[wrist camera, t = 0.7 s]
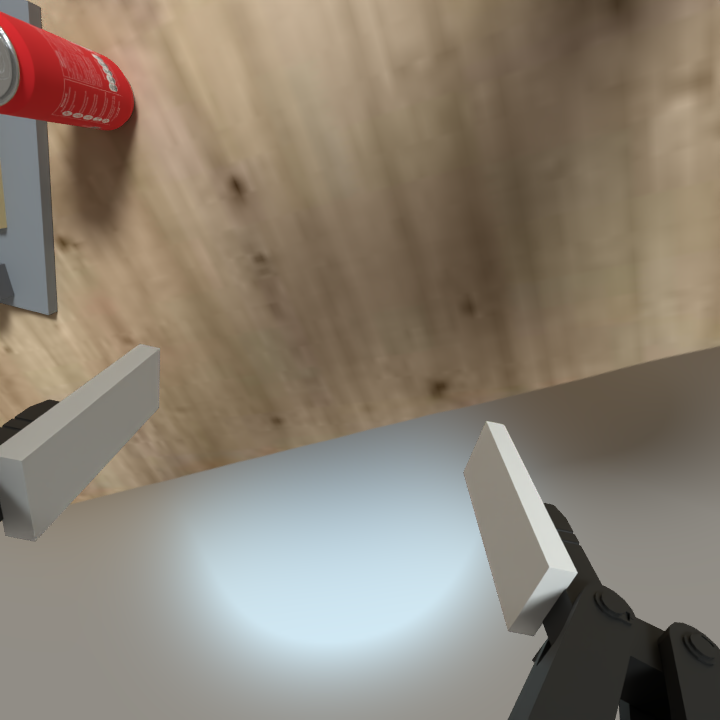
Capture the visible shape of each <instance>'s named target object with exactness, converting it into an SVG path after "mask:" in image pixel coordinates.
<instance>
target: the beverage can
mask: <svg viewBox="0 0 720 720" xmlns="http://www.w3.org/2000/svg"><path fill="white" fill-rule="evenodd" d="M133 110H134V94H133V91H132V88H131V85H130V83H129V82H128V80H127V78H126V77H125V76H124V74H123V73H122V71H121V70H120V69H119V68H118V66H117V65H116V64H115V63H113V62H112V61H111V60H110V59H108V58H107V57H105V56H103V55H101V54H98V53H96V52H94V51H91V50H89V49H87V48H84V47H82V46H80V45H77V44H75V43H73V42H70V41H68V40H66V39H63V38H61V37H59V36H56V35H54V34H52V33H49V32H47V31H45V30H43V29H40V28H38V27H36V26H33V25H31V24H29V23H26V22H24V21H22V20H19V19H17V18H15V17H12V16H10V15H8V14H5V13H3V12H1V11H0V114H4V115H10V116H16V117H23V118H29V119H36V120H42V121H48V122H55V123H61V124H67V125H74V126H80V127H86V128H93V129H99V130H114V129H117V128H119V127H120V126H122V125H123V124H124V123H126V122H127V121H128V120H129V119H130V117H131V115H132V113H133Z"/></svg>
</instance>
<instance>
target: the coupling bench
mask: <svg viewBox="0 0 720 720" xmlns="http://www.w3.org/2000/svg"><path fill="white" fill-rule="evenodd" d="M0 11H1V12H3V13H5V14H8V15H10V16H12V17H15V18H17V19H19V20H22V21H24V22H26V23H29V24H31V25H33V26H36V27H38V28H40V29H42V28H41V10H40V7H39V6H37V5H35V4H33V3H31V2H29V1H26V0H0ZM0 303H3V304H7V305H11V306H15V307H19V308H23V309H27V310H30V311H34V312H38V313H42V314H46V315H50V314H52V313H55V312H57V296H56V278H55V261H54V243H53V225H52V207H51V189H50V171H49V153H48V135H47V121H42V120H36V119H29V118H23V117H16V116H10V115H4V114H0Z"/></svg>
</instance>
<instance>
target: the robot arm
mask: <svg viewBox="0 0 720 720" xmlns="http://www.w3.org/2000/svg"><path fill="white" fill-rule="evenodd" d="M159 378H160V348H157V347H152V346H148V345H143V344H139V345H138V346H136V347H135V348H134V349H132V350H131V351H129V352H128V353H127V354H125V355H124V356H123V357H121V358H120V359H118V360H117V361H116V362H114V363H113V364H112V365H110V366H109V367H107V368H106V369H105V370H103V371H102V372H101V373H99V374H98V375H96V376H95V377H94V378H92V379H91V380H90V381H88V382H87V383H85V384H84V385H83V386H81V387H80V388H79V389H77V390H76V391H74V392H73V393H72V394H70V395H69V396H68V397H66V398H65V399H63V400H62V401H61V402H59V401H54V400H47V401H44V402H41V403H39V404H36V405H33V406H31V407H29V408H27V409H26V410H24V411H23V412H21V413H20V414H18V415H17V416H16V417H15V419H11V420H10V421H8V422H7V423H5V424H4V425H3V426H2V428H1V427H0V522H1V521H2V522H3V526H4V531H5V535H6V536H9V537H14V538H20V539H25V540H30V541H36V540H37V539H38V538H39V537H40V536H41V535H42V534H43V533H44V532H45V530H46V529H47V528H48V527H49V526H50V525H51V524H52V523H53V522H54V521H55V520H56V519H57V517H58V516H59V515H60V514H61V513H62V512H63V511H64V510H65V509H66V508H67V507H68V506H69V505H70V503H71V502H72V501H73V500H74V499H75V498H76V497H77V496H78V495H79V494H80V493H81V492H82V490H83V489H84V488H85V487H86V486H87V485H88V484H89V483H90V482H91V481H92V480H93V479H94V477H95V476H96V475H97V474H98V473H99V472H100V471H101V470H102V469H103V468H104V467H105V466H106V464H107V463H108V462H109V461H110V460H111V459H112V458H113V457H114V456H115V455H116V454H117V453H118V451H119V450H120V449H121V448H122V447H123V446H124V445H125V444H126V443H127V442H128V441H129V440H130V439H131V437H132V436H133V435H134V434H135V433H136V432H137V431H138V430H139V429H140V428H141V427H142V426H143V424H144V423H145V422H146V421H147V420H148V419H149V418H150V417H151V416H152V415H153V414H154V413H155V411H156V410H157V409H158V408H159ZM464 476H465V480H466V484H467V487H468V491H469V494H470V498H471V501H472V505H473V508H474V511H475V515H476V519H477V523H478V526H479V530H480V533H481V537H482V540H483V544H484V547H485V551H486V555H487V558H488V562H489V565H490V569H491V572H492V576H493V579H494V583H495V587H496V590H497V594H498V597H499V601H500V604H501V608H502V611H503V615H504V618H505V622H506V625H507V629H508V631H509V632H514V633H520V634H525V635H530V636H534V635H535V634H536V632H537V631H538V629H539V628H540V626H541V625H542V624H543V625H544V627H545V630H546V633H547V636H548V639H547V640H546V641H545V643H544V644H543V646H542V647H541V648H540V650H539V651H538V653H537V654H536V655H535V657H534V658H533V660H532V661H534V662H535V663H534V665H533V667H532V670H531V672H530V674H529V676H528V678H527V680H526V682H525V684H524V686H523V689H522V691H521V693H520V695H519V697H518V699H517V701H516V703H515V706H514V708H513V710H512V712H511V714H510V716H509V718H508V720H615V718H616V713H617V709H618V705H619V713H620V720H720V649H719V648H718V647H717V646H716V644H714V643H713V642H712V641H711V640H710V639H709V638H708V637H706V635H704V634H703V633H701V632H700V631H698V630H697V629H695V628H694V627H692V626H689V625H687V624H684V623H677V622H674V623H673V624H672V625H670V626H669V627H668V628H667V630H666V631H663V630H661V629H659V628H657V627H655V626H653V625H651V624H648V623H646V622H644V621H642V620H640V619H638V618H636V617H635V615H634V613H633V611H632V609H631V608H630V607H629V605H628V604H627V603H626V602H625V600H623V598H621V597H620V596H619V595H618V594H617V593H615V592H614V591H612V590H611V589H609V588H607V587H605V586H603V585H602V584H601V582H600V580H599V578H598V577H597V575H596V573H595V571H594V569H593V567H592V566H591V564H590V562H589V560H588V558H587V556H586V554H585V553H584V551H583V549H582V547H581V546H580V545H579V541H578V540H577V538H576V536H575V535H574V534H573V530H572V528H571V527H570V525H569V523H568V521H567V519H566V518H565V517H564V516H563V514H562V513H561V512H560V511H559V510H558V509H557V508H556V507H555V506H554V505H551V504H546V503H543V502H542V500H541V498H540V496H539V494H538V492H537V490H536V488H535V486H534V484H533V482H532V480H531V478H530V476H529V474H528V472H527V470H526V468H525V466H524V464H523V462H522V460H521V458H520V456H519V453H518V451H517V450H516V448H515V445H514V443H513V441H512V439H511V438H510V435H509V433H508V431H507V429H506V427H505V425H503V424H498V423H494V422H489V421H486V422H485V425H484V427H483V429H482V432H481V434H480V436H479V438H478V441H477V443H476V445H475V447H474V450H473V452H472V454H471V457H470V459H469V461H468V463H467V466H466V468H465V470H464Z"/></svg>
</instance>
